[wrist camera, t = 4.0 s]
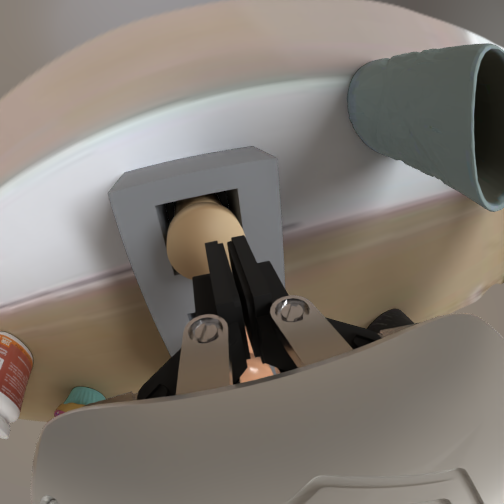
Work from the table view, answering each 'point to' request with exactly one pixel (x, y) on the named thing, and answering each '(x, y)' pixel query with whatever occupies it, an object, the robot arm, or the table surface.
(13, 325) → the table surface
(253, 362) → the terracotta plug
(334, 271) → the table surface
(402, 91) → the green tapered cup
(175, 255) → the oak plug
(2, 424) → the pill bottle
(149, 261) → the socket block
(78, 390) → the cupcake
